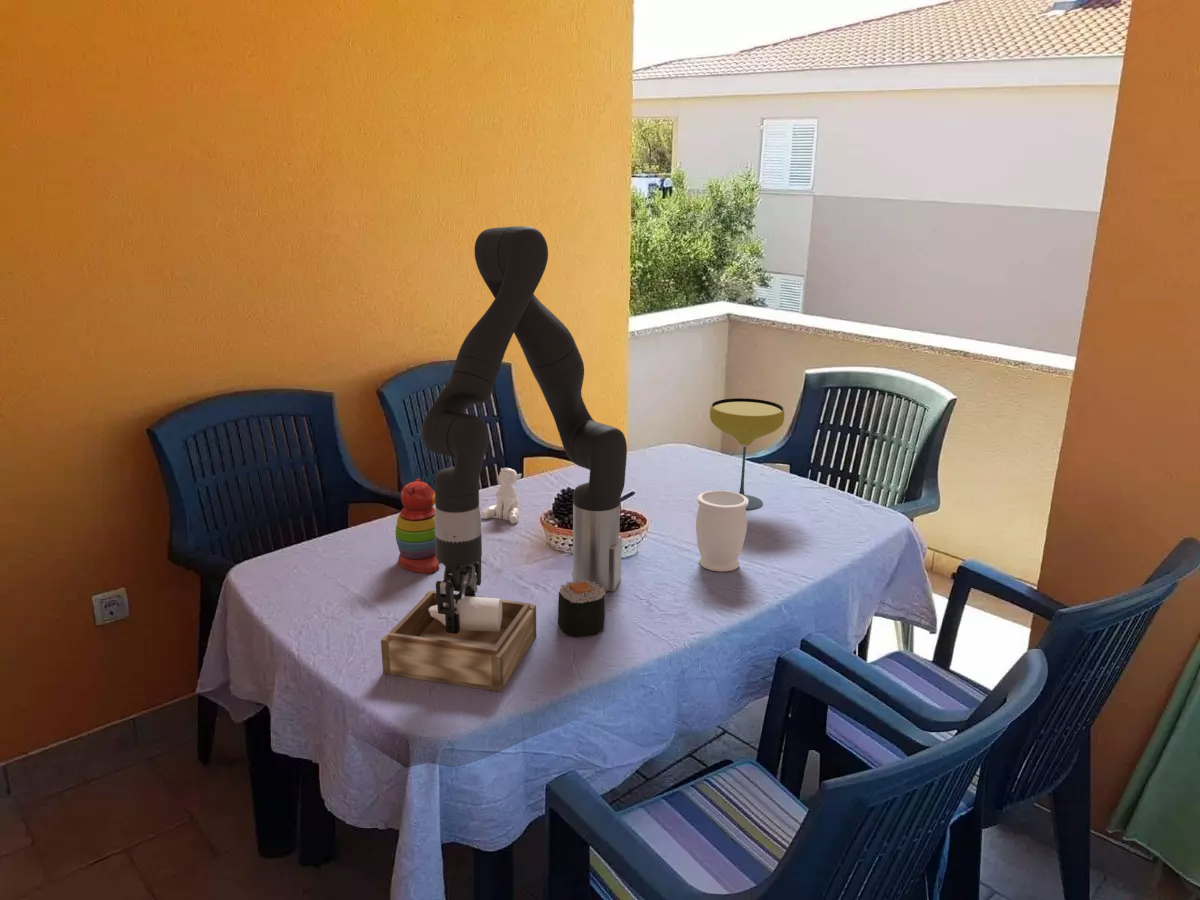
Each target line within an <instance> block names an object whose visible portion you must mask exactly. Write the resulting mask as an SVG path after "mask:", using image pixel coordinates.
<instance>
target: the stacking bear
mask: <svg viewBox="0 0 1200 900" xmlns="http://www.w3.org/2000/svg"><path fill="white" fill-rule="evenodd" d="M400 500H401V504H402V506H403V508H402V509H401V511H400V512H399V514H398V515H397V518H396V526H395V540H396V544H397V547H398V551H399V555H398V559H397V563H398V565H399V566H400V567H402V568H403V569H406V570H408V571H411V572H416V573H423V574H432V573H435V572H437V571H438V570H439V569H440V566H439V564H440V563H441V562H439V561H438V560H437V558H436V545H435V508H434V506H435V489H433V488H432V487H431V486H430V485H429V484H428V483H427V482H424V481H422V480H421V478H416V479H415V480H414V481H412V482H408V483H407V484H406V485H404V486H403V487H402V489H401V491H400Z"/></svg>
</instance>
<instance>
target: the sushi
mask: <svg viewBox="0 0 1200 900" xmlns="http://www.w3.org/2000/svg"><path fill="white" fill-rule="evenodd" d="M598 586H599V584H596V585H595V582H590V581H587V580H581V581H580V580H579V579H577V580H576V582H574V581H573V580H572V582H571V581H568V582H566V583H565V584H561V585H560V589H559V591H558V602H557V603H558V605H557V625H558V627H559V629H560V630H561V632H562V633H563V635H566V636H567V637H571V638H584V637H590V636H595V635H598V634H600V633H602V632H603V631H604V630H605V613H606V611H605V609H606V607H605V606H606V605H605V601H606V600H605V598H606V597H605V595H606V591H603V590H604V588H600V587H598Z"/></svg>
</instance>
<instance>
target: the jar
mask: <svg viewBox="0 0 1200 900" xmlns="http://www.w3.org/2000/svg"><path fill="white" fill-rule="evenodd" d="M744 495H745V494H744ZM744 495H742V494H739V492H735V491H731V490H721V489H720V490H717V489H716V490H715V489H714V490H708V491H704V492H700V494H698V496H697V500H696V501H697V504H698V505H699V506H698V507H697V508H698V509H697V512H696V516H695V517H696V518H695V520H696V521H695V533H696V539H697V540H696V541H697V548H698V551H699V554H700V555H701V556H700V557H699V558H698V562H699V565H700V566H701V567H702V568H704V569H707V570H709V571H714V572H721V573H723V572H731V571H734V570H736V569H738V568H739V566H740V561H739V559H738V558H739V557H740V556H741V553H742V550H743V548H744V543H745V540H746V535H747V529H748V515H747V510H746V509H745V508H746V507H747V506H748V501H749V500H748V498H747V497H746V496H744Z"/></svg>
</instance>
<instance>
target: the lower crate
mask: <svg viewBox="0 0 1200 900" xmlns="http://www.w3.org/2000/svg"><path fill="white" fill-rule="evenodd" d="M430 591H431V590H428V591H427V592H426V593H425V595H424V596H423V597H422V598H421V599H420V600H419V601H418V602H417V603H416V604H415V605H414V607H415V606H416V605H417V604H418V603H419V602H420V601H421V600H422V599H423V598H424V597H425V596H426V595H427V594H428V593H429V592H430ZM414 607H412V609H413V608H414ZM394 628H395V626H394V627H393V628H392V629H391V630H390V631H389V632H388V633H387V634H386V635H384V636H382V638H381V639H380V647H381V648H380V651H381V664H382V674H385V675H391V676H396V677H403V678H410V679H415V680H422V681H427V682H428V681H429V682H435V683H441V684H449V685H453V686H461V687H467V688H473V689H479V690H487V691H493V692H499V693H501V691H502V690H503V689H504V687H505V685H507V683H508V681H509V679H510V678H511V676H512V675H513V673H514V671H515V670H516V669H517V667H518V666H519V664H520V663H521V661H522V659H523V658H524V656H525V655H526V653H527V652H528V650H529V649H530V647H531V646H532V643H533V642H534V641H535V639H536V638H537V605H536V604H531V603H530V608H529V610H528V611H527V613H526V614H525V616H524V617H523V619H522V620H521V621H520V623H519V624H518V626H517V627H516V628H515V630H514V631H513V633H512V634H511V636H510V637H509V638H508V640H507V641H506V643H505V644H504V646H503V647H502V648H501V650H500V651H499V652H498V653H497V654H485V653H478V652H471V651H465V650H458V649H451V648H444V647H437V646H431V645H424V644H417V643H410V642H403V641H397V640H391V639H390V638H388V637H387V635H388V634H389V633H390V632H391V631H392V630H393V629H394Z"/></svg>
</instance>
